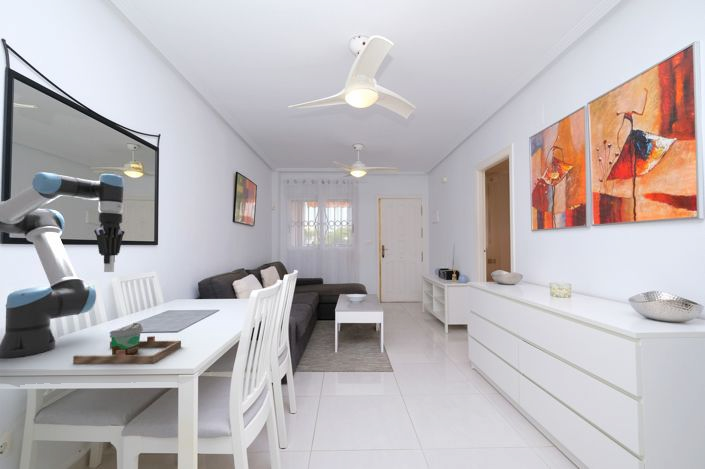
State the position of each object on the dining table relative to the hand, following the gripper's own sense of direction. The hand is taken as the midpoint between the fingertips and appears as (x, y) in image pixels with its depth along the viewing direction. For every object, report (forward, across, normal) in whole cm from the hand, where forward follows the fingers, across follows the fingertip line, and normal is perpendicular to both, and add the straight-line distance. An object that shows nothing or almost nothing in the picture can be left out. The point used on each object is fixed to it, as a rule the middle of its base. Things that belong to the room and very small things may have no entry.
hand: (108, 271), depth 123 cm
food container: (+30, -9, -16) cm, 35 cm away
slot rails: (+29, -9, -16) cm, 35 cm away
